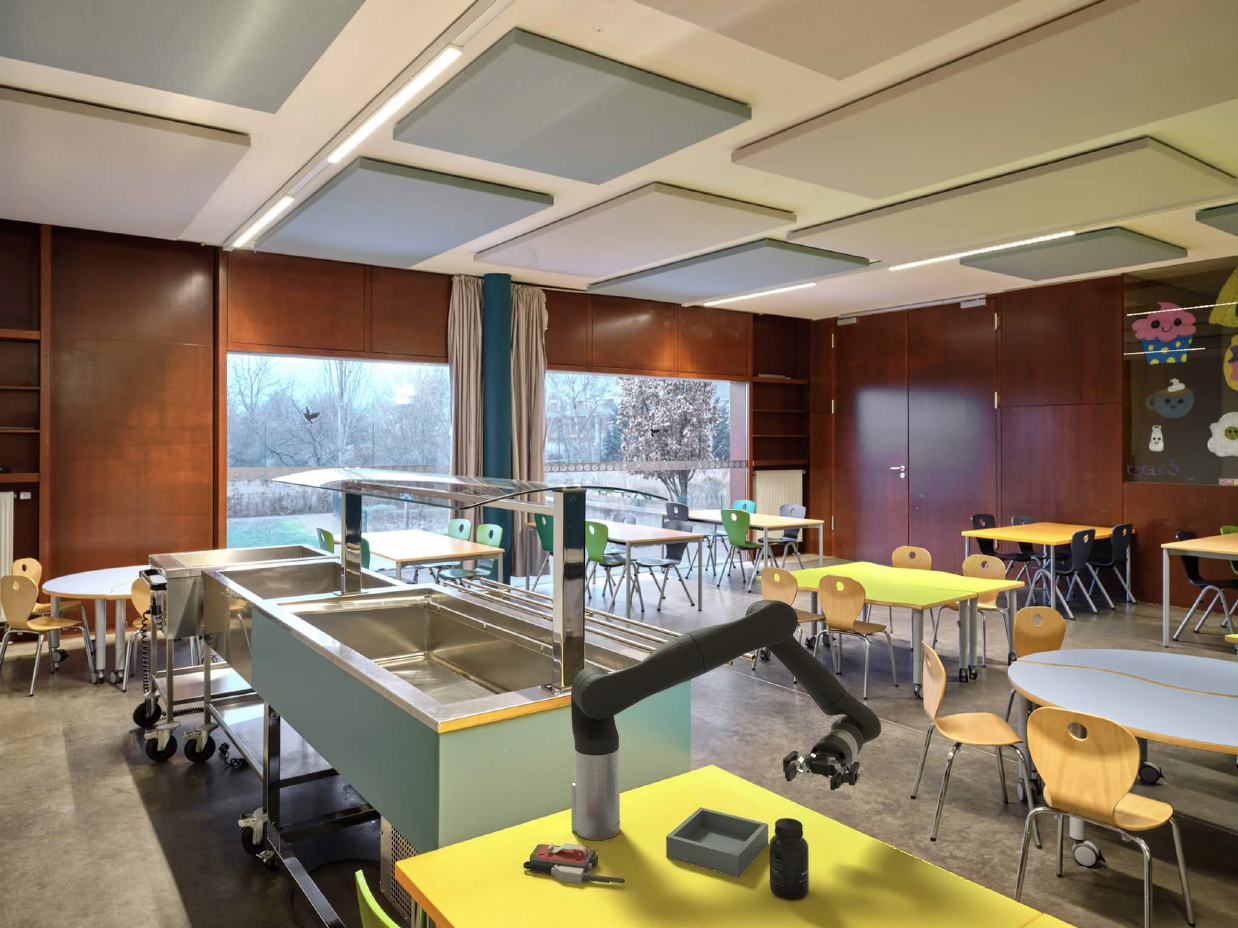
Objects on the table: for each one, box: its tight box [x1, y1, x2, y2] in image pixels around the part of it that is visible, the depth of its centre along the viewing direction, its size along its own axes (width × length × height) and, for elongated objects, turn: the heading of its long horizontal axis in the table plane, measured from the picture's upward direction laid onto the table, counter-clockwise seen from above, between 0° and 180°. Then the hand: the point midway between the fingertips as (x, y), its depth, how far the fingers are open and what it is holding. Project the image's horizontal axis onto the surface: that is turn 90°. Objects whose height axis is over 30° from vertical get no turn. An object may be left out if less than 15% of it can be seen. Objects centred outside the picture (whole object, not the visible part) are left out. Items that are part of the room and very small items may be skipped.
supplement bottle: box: [769, 817, 810, 901], centre depth 141 cm, size 7×7×12 cm
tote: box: [665, 806, 769, 879], centre depth 156 cm, size 15×15×4 cm
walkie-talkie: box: [523, 842, 626, 885], centre depth 148 cm, size 9×4×20 cm
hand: (809, 781), depth 150 cm, fingers open, 8 cm apart
